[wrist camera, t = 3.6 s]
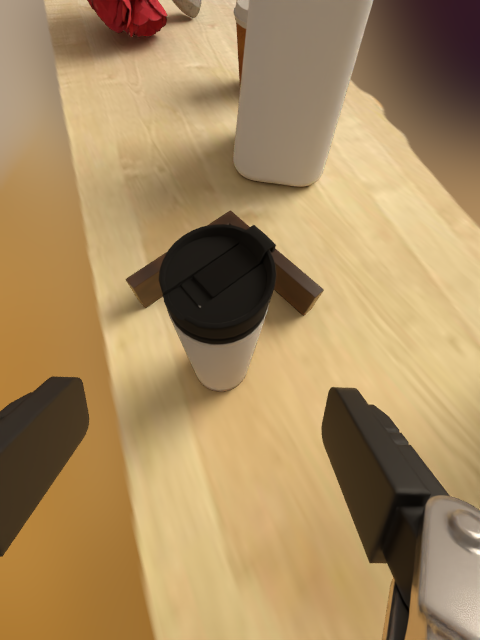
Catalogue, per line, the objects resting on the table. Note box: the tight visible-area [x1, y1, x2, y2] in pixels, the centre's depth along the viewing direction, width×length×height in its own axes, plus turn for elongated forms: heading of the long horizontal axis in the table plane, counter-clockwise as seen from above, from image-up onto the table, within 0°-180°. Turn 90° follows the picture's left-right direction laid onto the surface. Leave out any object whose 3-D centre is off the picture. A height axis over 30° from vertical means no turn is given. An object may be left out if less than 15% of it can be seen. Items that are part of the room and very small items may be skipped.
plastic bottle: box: [233, 0, 373, 187], centre depth 34 cm, size 15×15×28 cm
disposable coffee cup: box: [234, 0, 249, 86], centre depth 50 cm, size 10×10×12 cm
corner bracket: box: [126, 211, 323, 316], centre depth 33 cm, size 16×16×5 cm
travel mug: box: [159, 224, 276, 391], centre depth 23 cm, size 6×7×20 cm
